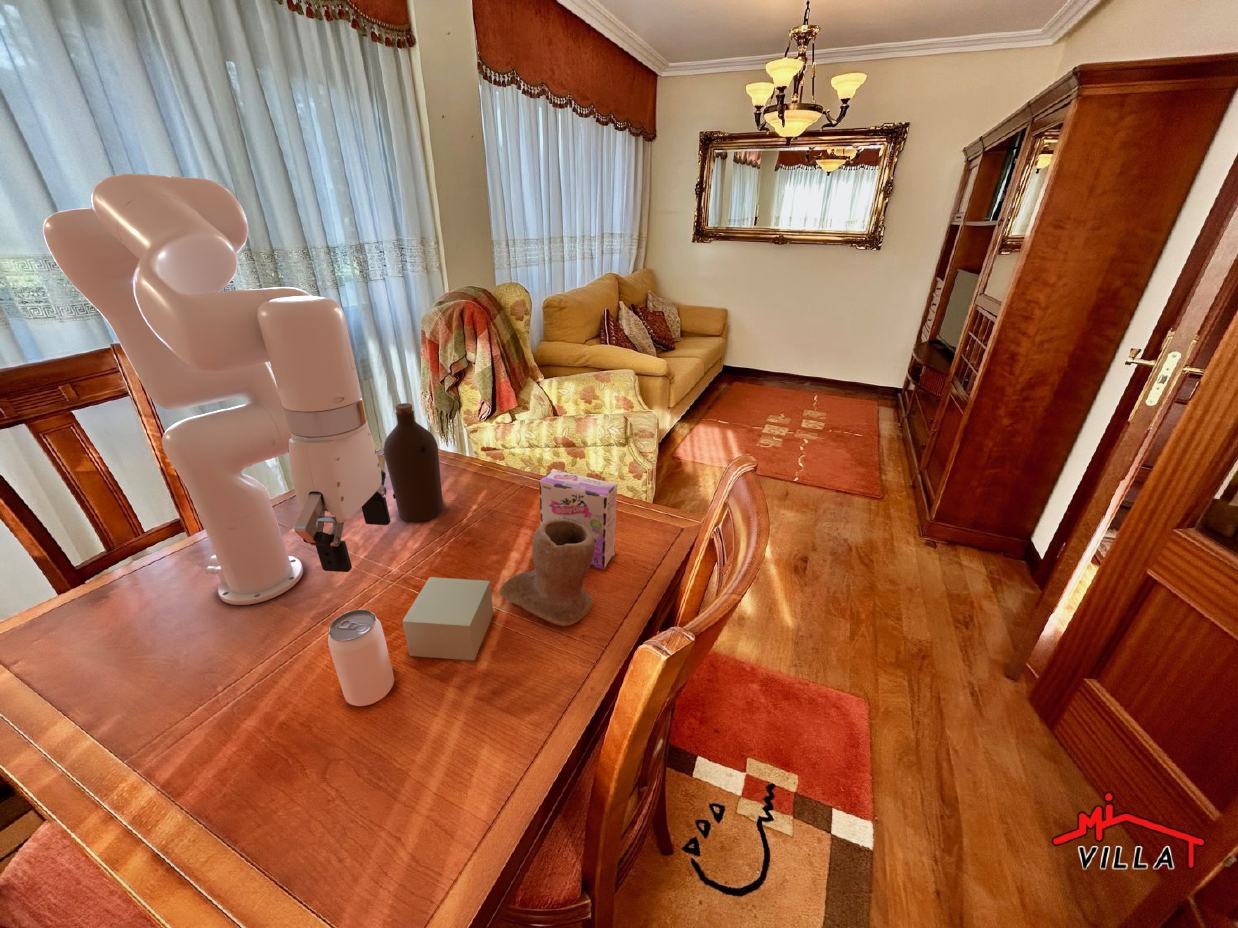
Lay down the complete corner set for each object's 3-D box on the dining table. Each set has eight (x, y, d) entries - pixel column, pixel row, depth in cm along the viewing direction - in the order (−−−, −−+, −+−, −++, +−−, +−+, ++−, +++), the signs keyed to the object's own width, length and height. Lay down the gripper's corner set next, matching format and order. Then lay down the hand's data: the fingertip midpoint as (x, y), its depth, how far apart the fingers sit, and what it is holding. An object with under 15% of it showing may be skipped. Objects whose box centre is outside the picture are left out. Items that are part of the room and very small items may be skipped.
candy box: (540, 552, 100) (537, 480, 92) (554, 537, 104) (552, 467, 97) (604, 570, 95) (605, 496, 88) (615, 553, 100) (618, 481, 93)
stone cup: (608, 598, 88) (610, 527, 82) (565, 640, 79) (564, 564, 73) (543, 566, 96) (540, 499, 89) (497, 601, 87) (490, 529, 80)
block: (409, 656, 76) (401, 621, 73) (435, 609, 85) (429, 576, 81) (474, 660, 75) (469, 625, 72) (493, 613, 84) (489, 580, 81)
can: (376, 712, 67) (358, 647, 62) (333, 702, 68) (312, 638, 63) (404, 673, 73) (390, 611, 67) (364, 665, 74) (347, 603, 68)
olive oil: (454, 501, 116) (440, 399, 105) (432, 526, 107) (414, 417, 95) (411, 496, 117) (393, 395, 106) (386, 521, 108) (363, 412, 97)
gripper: (337, 390, 62) (364, 507, 70) (235, 447, 47) (285, 590, 55) (396, 392, 62) (417, 510, 70) (314, 451, 47) (352, 593, 54)
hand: (359, 545), depth 62 cm, fingers open, 9 cm apart
